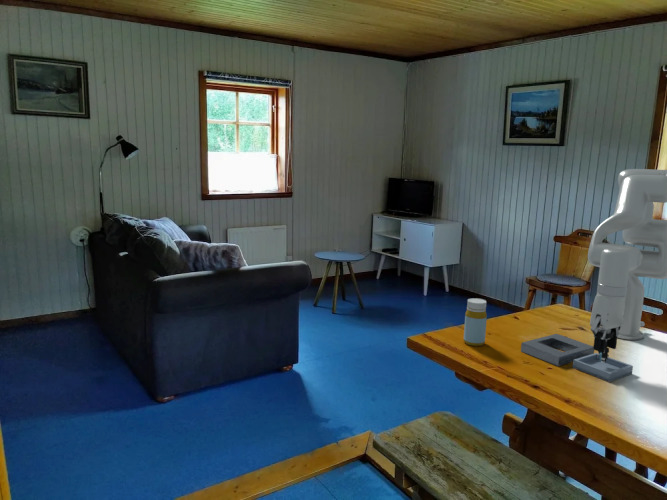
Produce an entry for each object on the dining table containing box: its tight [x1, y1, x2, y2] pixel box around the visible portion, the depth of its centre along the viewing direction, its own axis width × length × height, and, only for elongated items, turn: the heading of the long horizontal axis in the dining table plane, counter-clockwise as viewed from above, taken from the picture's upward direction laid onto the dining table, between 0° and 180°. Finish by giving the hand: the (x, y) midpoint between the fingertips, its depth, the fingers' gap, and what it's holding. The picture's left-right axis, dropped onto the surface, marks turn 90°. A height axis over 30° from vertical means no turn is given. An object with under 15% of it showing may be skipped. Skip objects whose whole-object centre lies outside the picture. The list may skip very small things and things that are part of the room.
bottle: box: [463, 297, 488, 347], centre depth 176 cm, size 7×7×15 cm
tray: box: [572, 352, 634, 383], centre depth 156 cm, size 12×12×2 cm
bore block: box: [520, 333, 595, 367], centre depth 169 cm, size 18×14×3 cm
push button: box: [597, 326, 614, 363], centre depth 155 cm, size 7×5×10 cm
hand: (604, 348), depth 155 cm, fingers closed on push button, 5 cm apart
